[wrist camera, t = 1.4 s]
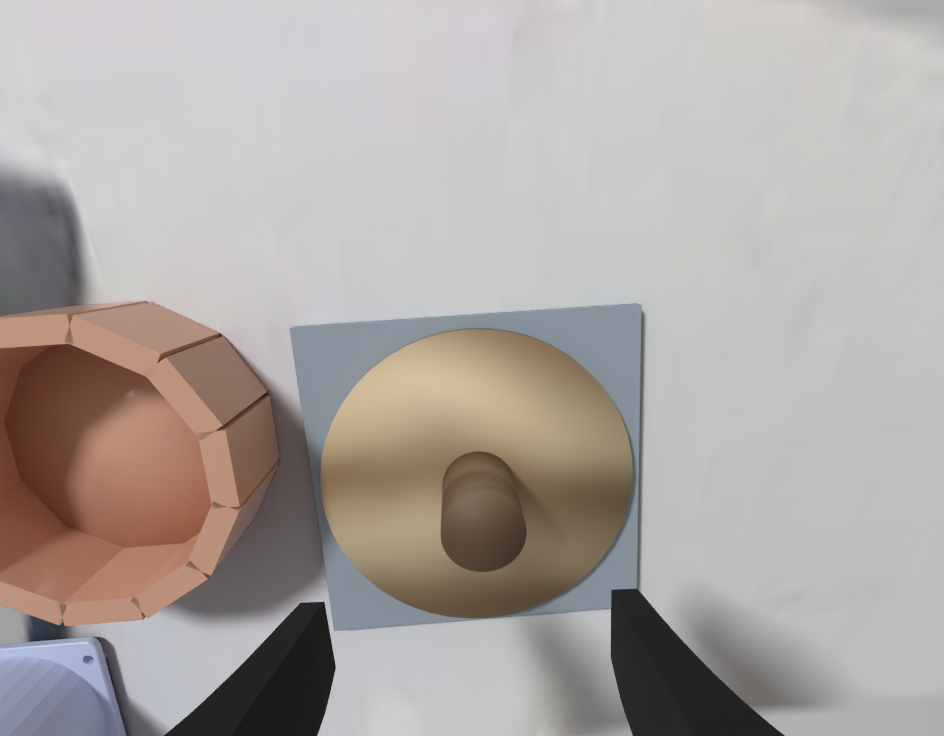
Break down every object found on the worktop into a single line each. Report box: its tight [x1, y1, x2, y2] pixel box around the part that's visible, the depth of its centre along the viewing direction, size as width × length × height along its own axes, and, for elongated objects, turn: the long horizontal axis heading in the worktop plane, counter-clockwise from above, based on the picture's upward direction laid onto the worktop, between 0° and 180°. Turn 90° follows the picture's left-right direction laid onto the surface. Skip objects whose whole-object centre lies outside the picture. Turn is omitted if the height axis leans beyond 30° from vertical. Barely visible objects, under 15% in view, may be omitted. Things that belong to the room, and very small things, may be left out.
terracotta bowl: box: [0, 301, 280, 626], centre depth 20 cm, size 12×12×4 cm
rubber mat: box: [290, 304, 641, 631], centre depth 23 cm, size 15×15×1 cm
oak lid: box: [320, 328, 633, 618], centre depth 21 cm, size 14×14×5 cm
